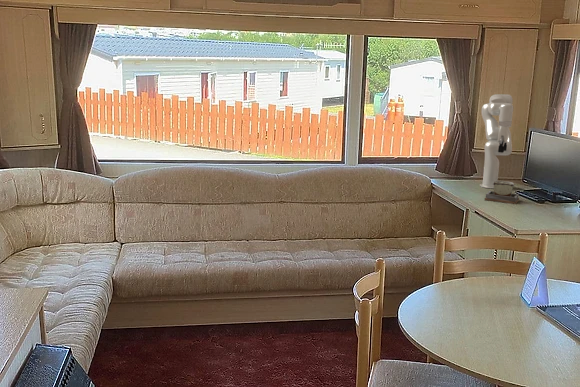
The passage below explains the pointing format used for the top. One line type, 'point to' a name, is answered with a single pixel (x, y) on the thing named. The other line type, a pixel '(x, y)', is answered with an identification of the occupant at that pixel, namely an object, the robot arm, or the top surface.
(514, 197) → the cradle
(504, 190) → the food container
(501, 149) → the robot arm
